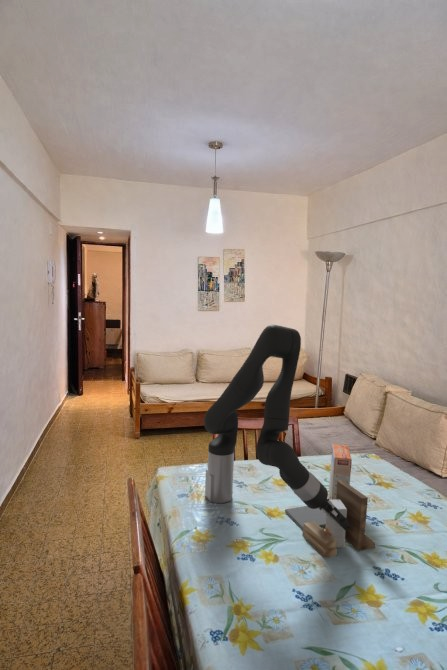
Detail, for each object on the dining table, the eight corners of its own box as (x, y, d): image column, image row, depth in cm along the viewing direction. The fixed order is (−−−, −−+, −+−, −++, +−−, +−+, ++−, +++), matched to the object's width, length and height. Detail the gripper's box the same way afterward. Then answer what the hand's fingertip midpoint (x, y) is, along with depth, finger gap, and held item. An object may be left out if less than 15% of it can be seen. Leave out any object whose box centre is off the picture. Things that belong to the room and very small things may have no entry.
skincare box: (324, 536, 132) (326, 499, 130) (337, 536, 132) (340, 499, 131) (330, 548, 125) (333, 509, 124) (345, 547, 126) (347, 509, 125)
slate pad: (303, 530, 134) (303, 527, 134) (285, 512, 145) (285, 509, 145) (335, 525, 138) (335, 522, 138) (315, 507, 149) (315, 504, 149)
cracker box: (348, 520, 142) (352, 459, 140) (329, 517, 143) (333, 457, 141) (345, 500, 155) (348, 444, 153) (327, 498, 156) (331, 443, 154)
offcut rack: (324, 558, 120) (327, 503, 119) (302, 535, 132) (305, 485, 130) (375, 547, 127) (379, 495, 125) (349, 526, 138) (353, 478, 136)
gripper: (331, 489, 117) (362, 523, 122) (304, 468, 131) (333, 500, 136) (313, 510, 116) (345, 543, 121) (287, 487, 129) (318, 518, 134)
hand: (339, 520), depth 128 cm, fingers open, 8 cm apart
